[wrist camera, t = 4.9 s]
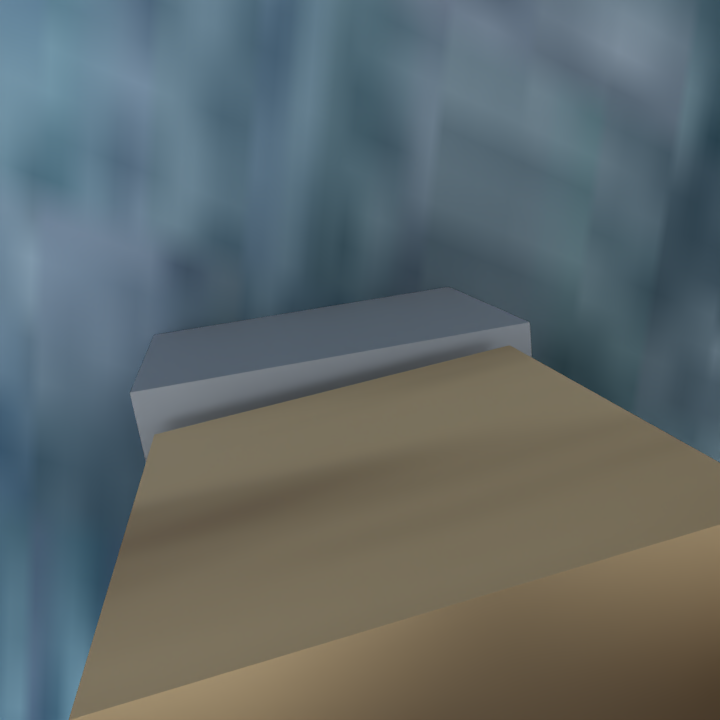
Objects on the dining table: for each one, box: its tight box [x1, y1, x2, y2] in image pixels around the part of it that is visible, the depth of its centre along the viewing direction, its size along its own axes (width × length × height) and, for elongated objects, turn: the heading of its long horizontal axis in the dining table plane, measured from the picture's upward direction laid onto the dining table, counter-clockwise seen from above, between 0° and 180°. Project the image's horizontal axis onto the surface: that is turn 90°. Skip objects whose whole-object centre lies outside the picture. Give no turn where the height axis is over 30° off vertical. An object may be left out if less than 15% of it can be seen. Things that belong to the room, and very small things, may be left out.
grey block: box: [130, 287, 532, 461], centre depth 13 cm, size 6×6×4 cm
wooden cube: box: [69, 345, 720, 720], centre depth 8 cm, size 5×5×5 cm
